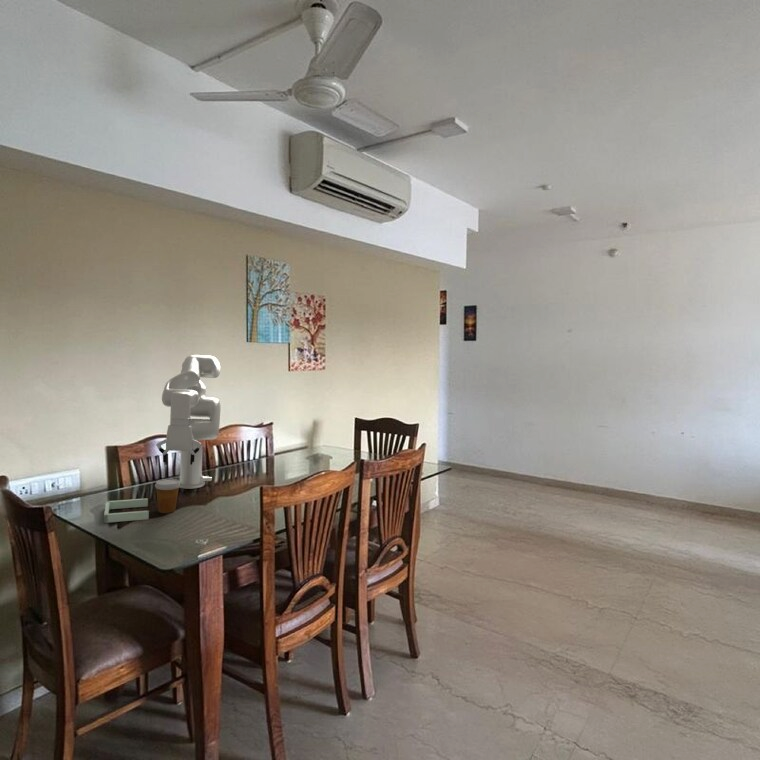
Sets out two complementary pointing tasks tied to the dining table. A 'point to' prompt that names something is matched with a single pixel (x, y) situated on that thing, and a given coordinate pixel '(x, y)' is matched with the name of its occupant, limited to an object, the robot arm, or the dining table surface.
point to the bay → (125, 515)
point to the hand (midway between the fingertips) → (178, 463)
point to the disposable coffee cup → (167, 494)
